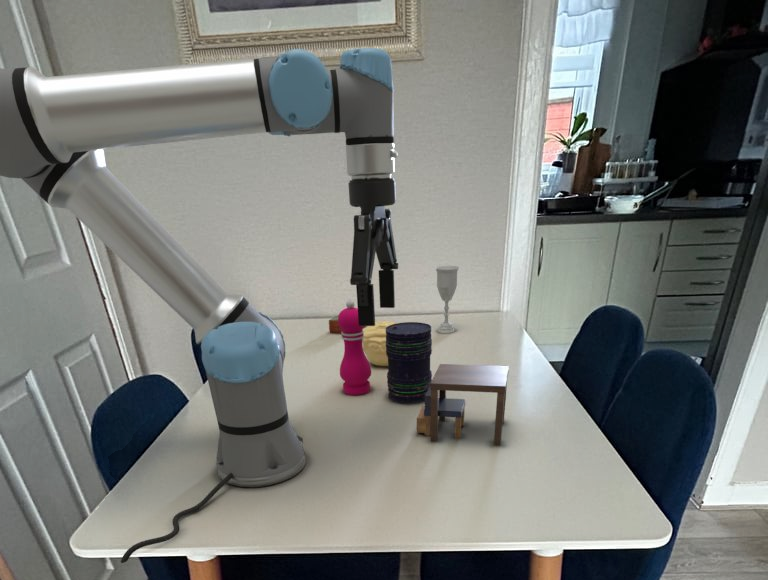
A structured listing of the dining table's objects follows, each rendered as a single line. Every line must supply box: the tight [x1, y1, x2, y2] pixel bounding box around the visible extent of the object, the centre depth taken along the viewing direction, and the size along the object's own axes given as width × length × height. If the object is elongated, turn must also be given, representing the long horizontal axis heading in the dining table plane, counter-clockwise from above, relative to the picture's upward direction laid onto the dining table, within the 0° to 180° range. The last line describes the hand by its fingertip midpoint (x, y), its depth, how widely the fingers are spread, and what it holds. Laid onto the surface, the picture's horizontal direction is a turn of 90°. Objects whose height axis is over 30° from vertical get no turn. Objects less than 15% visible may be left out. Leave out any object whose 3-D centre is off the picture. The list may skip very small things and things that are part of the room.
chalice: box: [435, 265, 460, 334], centre depth 161 cm, size 7×7×18 cm
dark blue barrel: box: [386, 321, 433, 405], centre depth 117 cm, size 10×10×15 cm
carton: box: [328, 314, 366, 335], centre depth 174 cm, size 8×16×4 cm, turn 158°
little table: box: [430, 363, 510, 447], centre depth 101 cm, size 11×13×11 cm
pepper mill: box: [338, 299, 372, 396], centre depth 120 cm, size 7×7×20 cm
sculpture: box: [362, 320, 397, 367], centre depth 139 cm, size 12×12×11 cm
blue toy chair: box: [416, 386, 466, 438], centre depth 103 cm, size 8×6×8 cm
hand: (377, 316), depth 97 cm, fingers open, 13 cm apart
